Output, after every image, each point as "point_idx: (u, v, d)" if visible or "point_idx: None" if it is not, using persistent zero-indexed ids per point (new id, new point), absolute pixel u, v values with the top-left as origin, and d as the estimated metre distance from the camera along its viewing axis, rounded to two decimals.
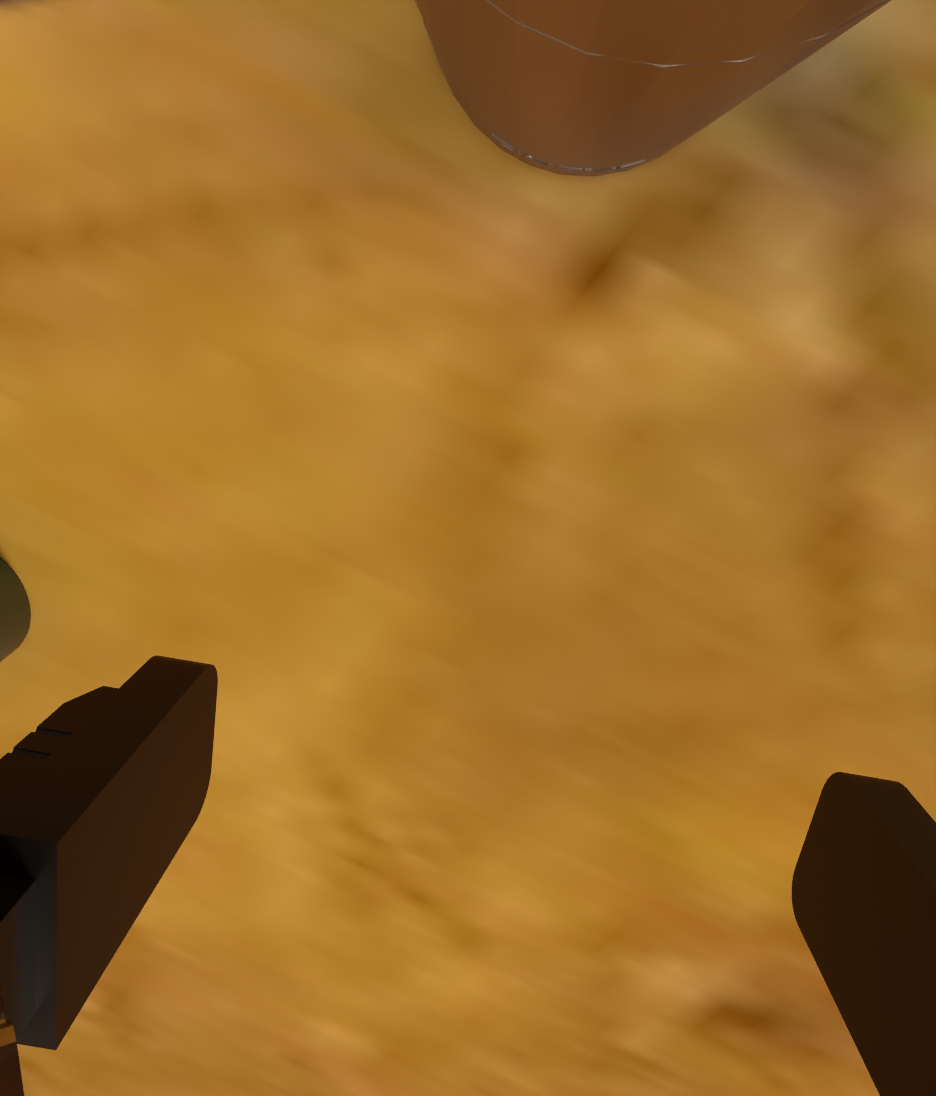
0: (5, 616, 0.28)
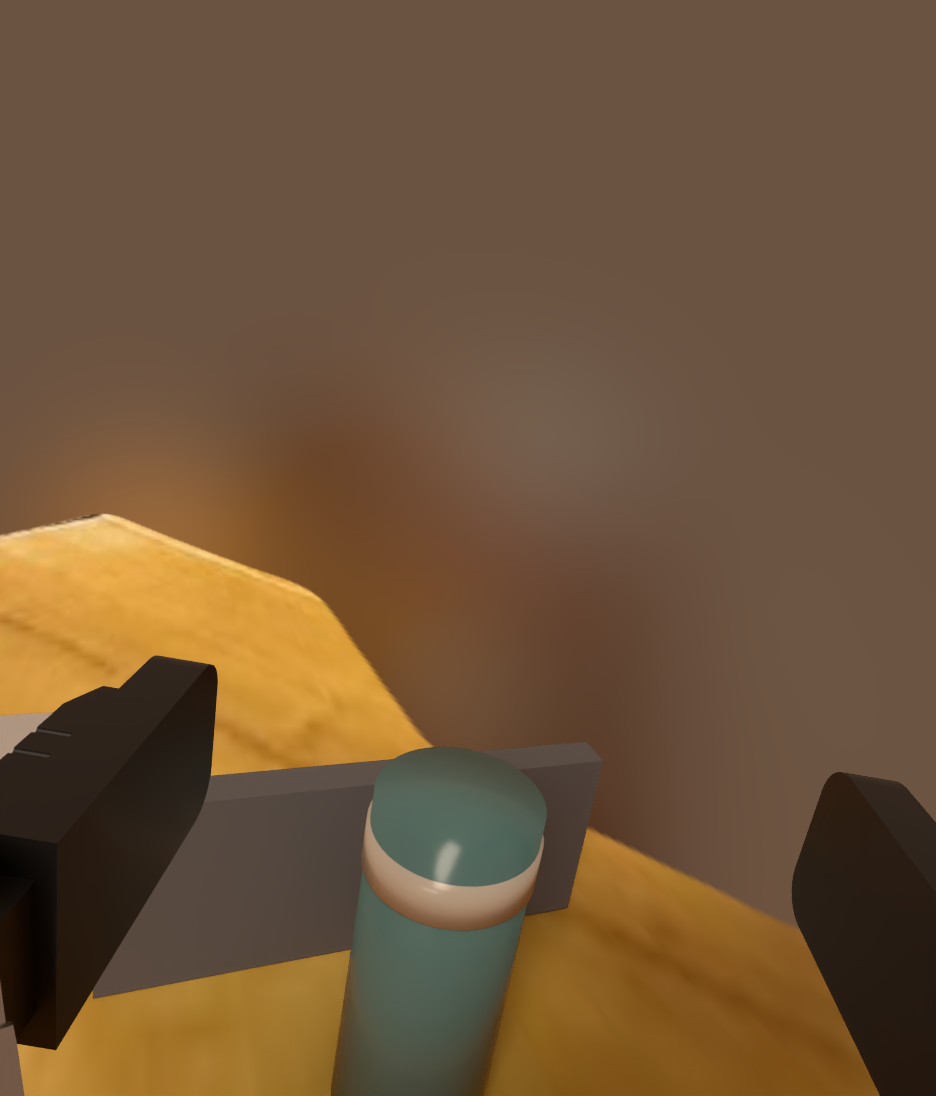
0: None
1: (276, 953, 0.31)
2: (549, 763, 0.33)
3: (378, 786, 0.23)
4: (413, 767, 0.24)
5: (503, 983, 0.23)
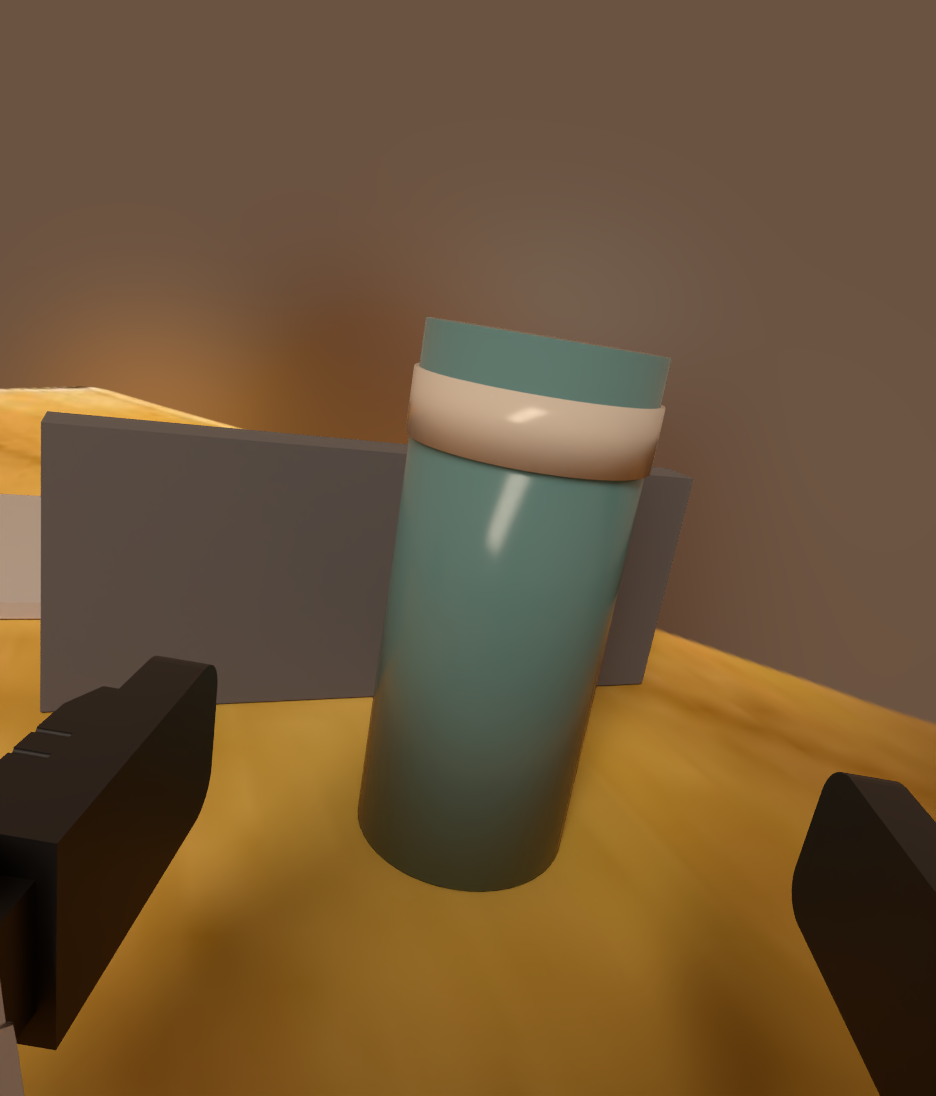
0: (558, 818, 0.18)
1: (283, 686, 0.24)
2: None
3: (431, 317, 0.16)
4: (476, 324, 0.17)
5: (606, 610, 0.17)
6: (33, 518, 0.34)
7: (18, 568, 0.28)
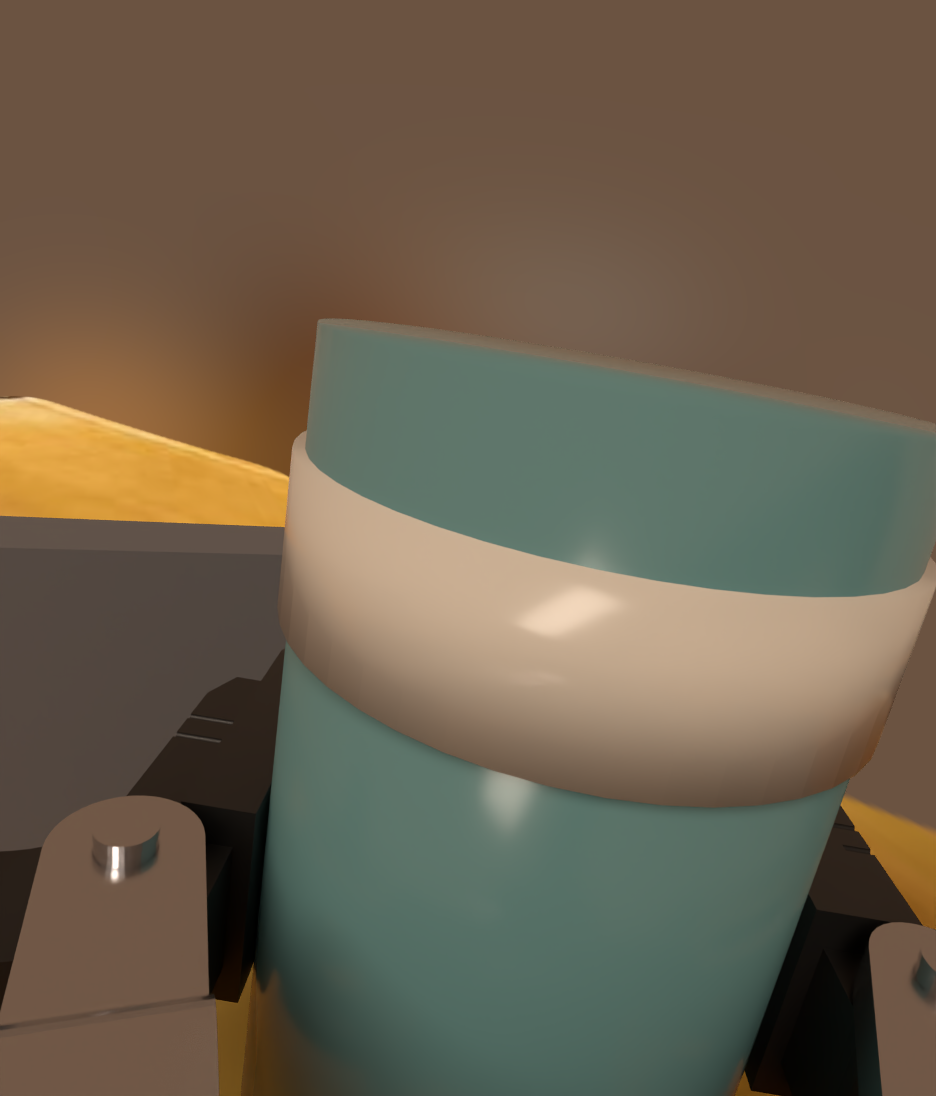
0: None
1: None
2: None
3: (335, 321, 0.06)
4: (452, 335, 0.08)
5: (760, 1023, 0.07)
6: None
7: None
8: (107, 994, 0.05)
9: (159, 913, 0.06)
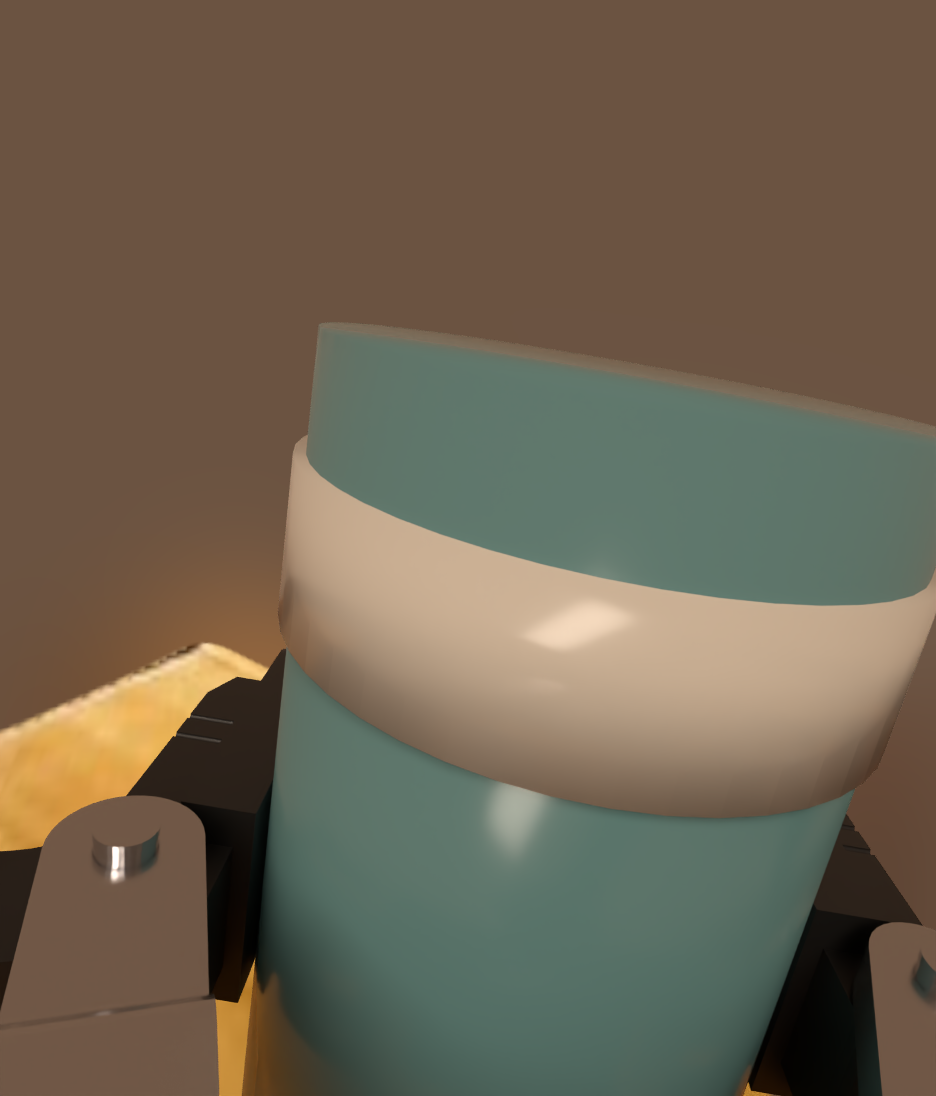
0: None
1: None
2: None
3: (336, 325, 0.06)
4: (454, 338, 0.08)
5: (765, 1033, 0.07)
6: None
7: None
8: (107, 995, 0.05)
9: (159, 913, 0.06)
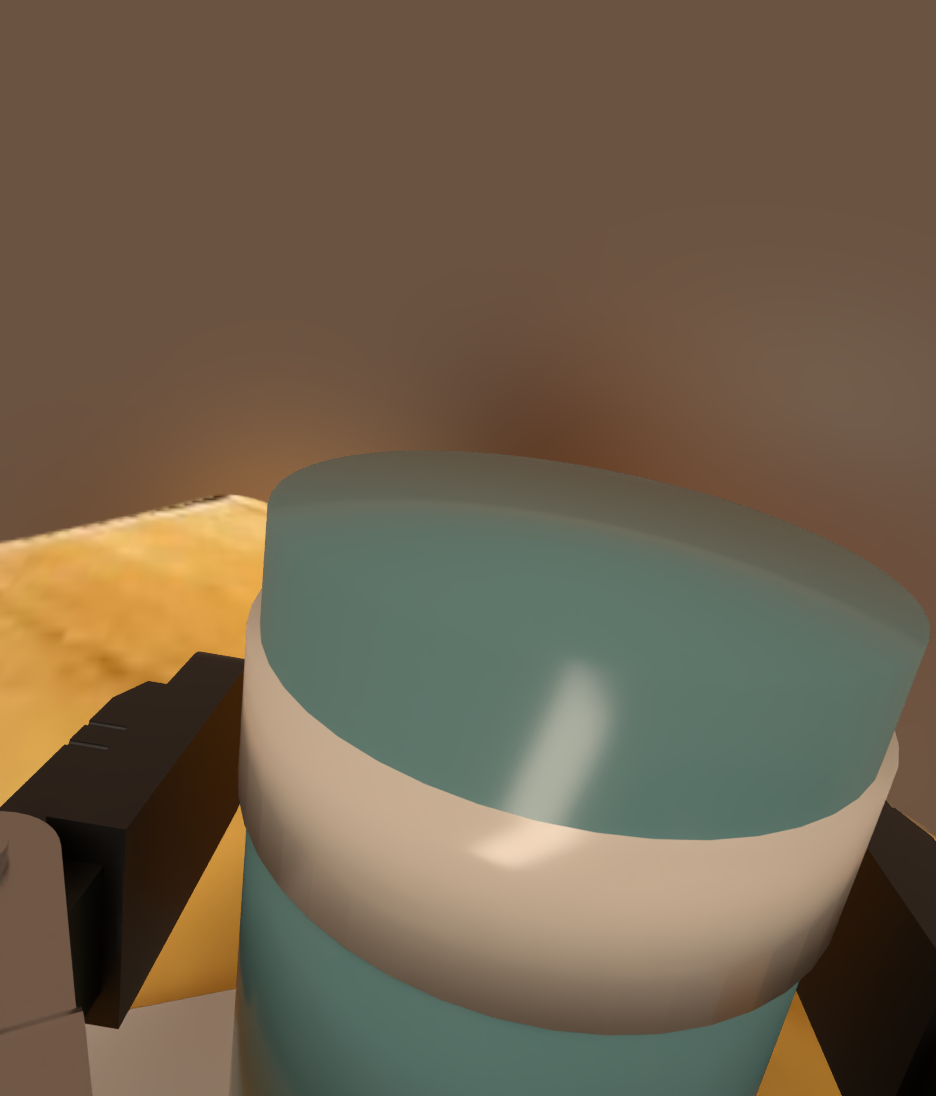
0: None
1: None
2: None
3: (289, 489, 0.06)
4: (416, 471, 0.07)
5: None
6: None
7: None
8: None
9: None
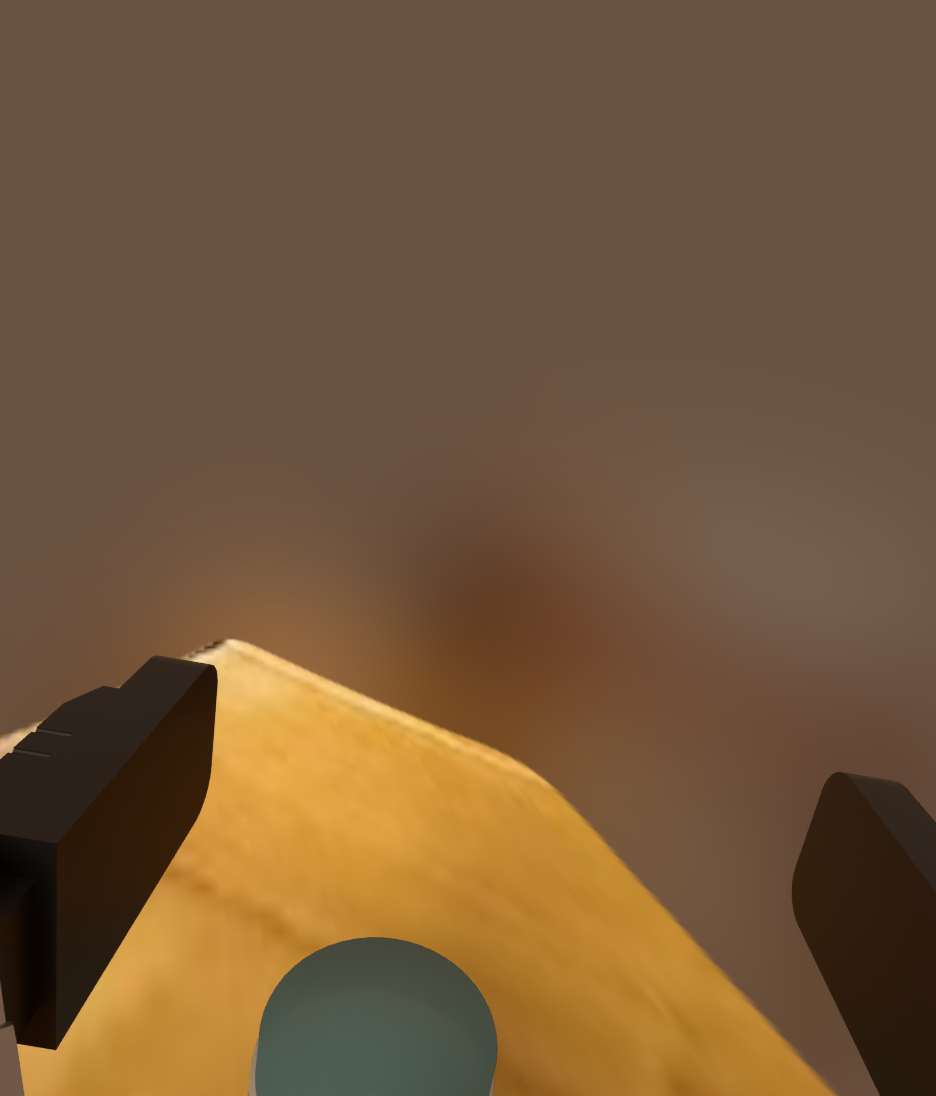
0: None
1: None
2: None
3: (266, 1020, 0.17)
4: (320, 979, 0.18)
5: None
6: None
7: None
8: None
9: None
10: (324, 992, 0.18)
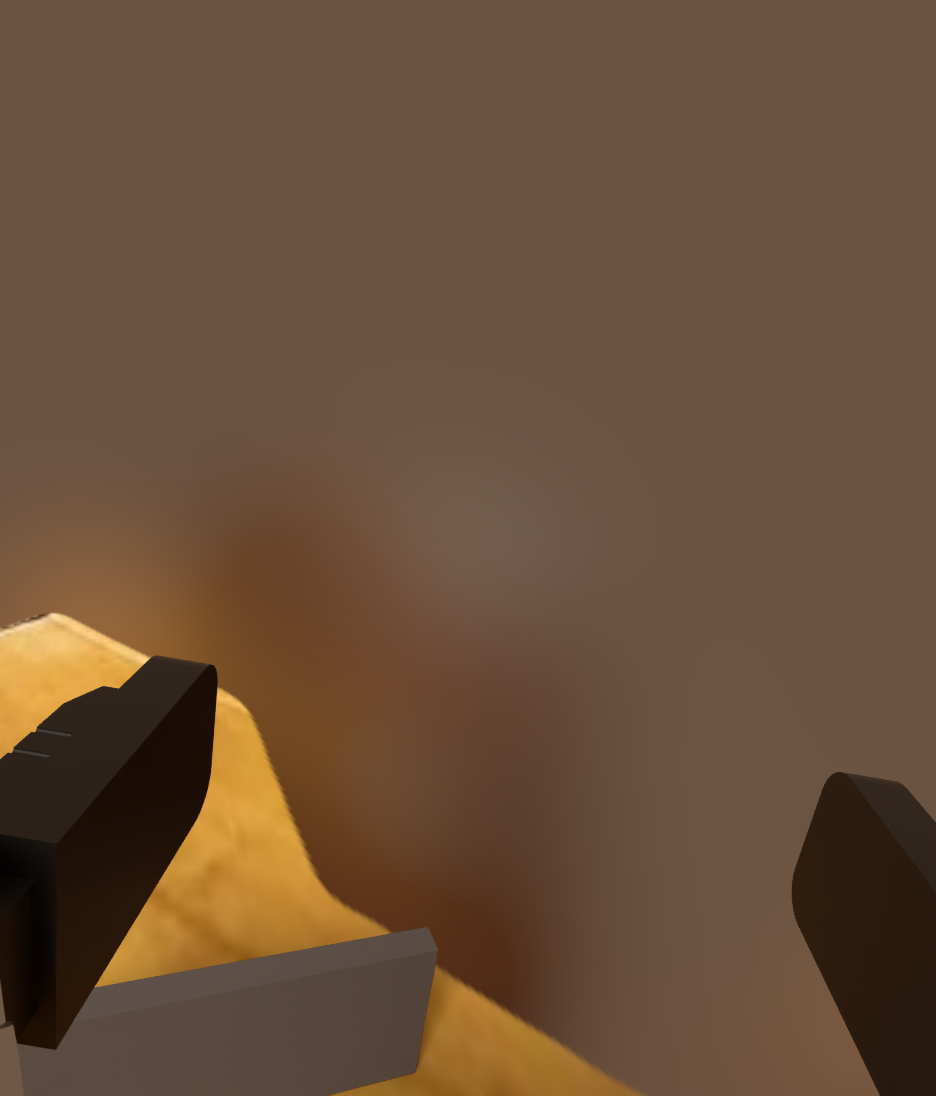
0: None
1: None
2: (385, 957, 0.37)
3: None
4: None
5: None
6: None
7: None
8: None
9: None
10: None
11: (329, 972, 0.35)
